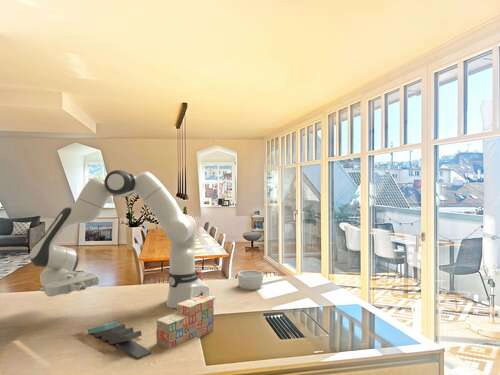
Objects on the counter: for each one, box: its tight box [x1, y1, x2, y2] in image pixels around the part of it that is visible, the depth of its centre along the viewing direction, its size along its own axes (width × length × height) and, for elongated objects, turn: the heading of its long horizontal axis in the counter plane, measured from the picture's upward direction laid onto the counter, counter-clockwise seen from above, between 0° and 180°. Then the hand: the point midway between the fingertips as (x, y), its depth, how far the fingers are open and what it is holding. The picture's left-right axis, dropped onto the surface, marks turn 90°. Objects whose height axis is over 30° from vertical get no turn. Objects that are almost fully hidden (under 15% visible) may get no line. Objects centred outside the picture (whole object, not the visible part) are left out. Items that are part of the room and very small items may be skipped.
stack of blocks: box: [156, 296, 215, 350], centre depth 136 cm, size 21×6×12 cm, turn 143°
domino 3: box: [101, 326, 135, 341], centre depth 130 cm, size 5×2×12 cm
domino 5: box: [116, 340, 152, 360], centre depth 124 cm, size 5×2×12 cm
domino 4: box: [108, 330, 143, 345], centre depth 127 cm, size 5×2×12 cm
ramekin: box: [237, 269, 264, 291], centre depth 198 cm, size 13×13×7 cm
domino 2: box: [94, 323, 127, 337], centre depth 133 cm, size 5×2×12 cm
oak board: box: [70, 329, 143, 355], centre depth 134 cm, size 14×22×1 cm, turn 50°
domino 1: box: [87, 320, 119, 334], centre depth 136 cm, size 5×2×12 cm
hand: (82, 288), depth 148 cm, fingers closed
